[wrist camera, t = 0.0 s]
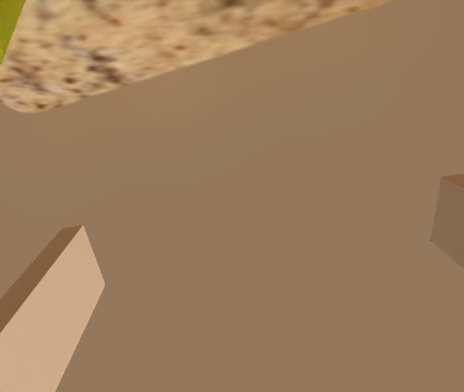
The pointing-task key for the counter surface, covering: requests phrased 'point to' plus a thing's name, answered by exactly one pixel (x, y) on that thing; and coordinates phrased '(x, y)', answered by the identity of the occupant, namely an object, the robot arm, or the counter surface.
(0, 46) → the soap dispenser
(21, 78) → the counter surface
